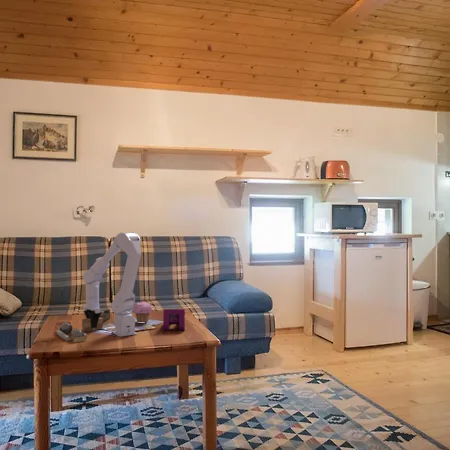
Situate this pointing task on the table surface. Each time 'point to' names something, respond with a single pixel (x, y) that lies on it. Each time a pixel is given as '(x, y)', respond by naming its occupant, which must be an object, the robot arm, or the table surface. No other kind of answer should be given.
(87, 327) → the block
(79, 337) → the near shaft stub
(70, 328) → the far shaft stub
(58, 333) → the cradle
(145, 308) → the cupcake
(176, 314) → the mounting bracket
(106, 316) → the dark brown rough bar
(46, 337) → the table surface
